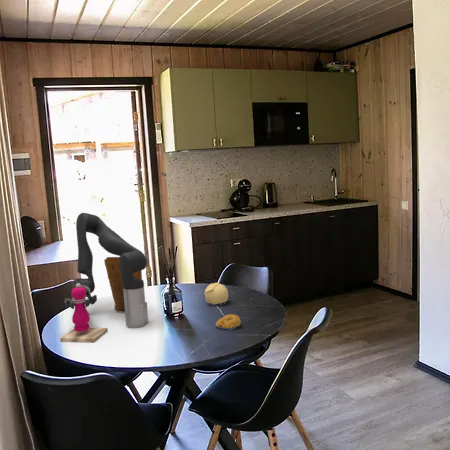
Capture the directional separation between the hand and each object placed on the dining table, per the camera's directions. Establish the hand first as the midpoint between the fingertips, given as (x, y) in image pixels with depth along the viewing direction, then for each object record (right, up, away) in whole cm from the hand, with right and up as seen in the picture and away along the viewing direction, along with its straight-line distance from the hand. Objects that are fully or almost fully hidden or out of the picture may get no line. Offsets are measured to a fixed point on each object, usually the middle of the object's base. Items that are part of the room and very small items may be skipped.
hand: (79, 305), depth 198 cm
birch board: (+1, -14, +5) cm, 14 cm away
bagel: (+62, -11, +8) cm, 63 cm away
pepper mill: (0, -11, +4) cm, 12 cm away
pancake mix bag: (+13, -9, +38) cm, 41 cm away
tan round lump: (+56, -6, +43) cm, 71 cm away
